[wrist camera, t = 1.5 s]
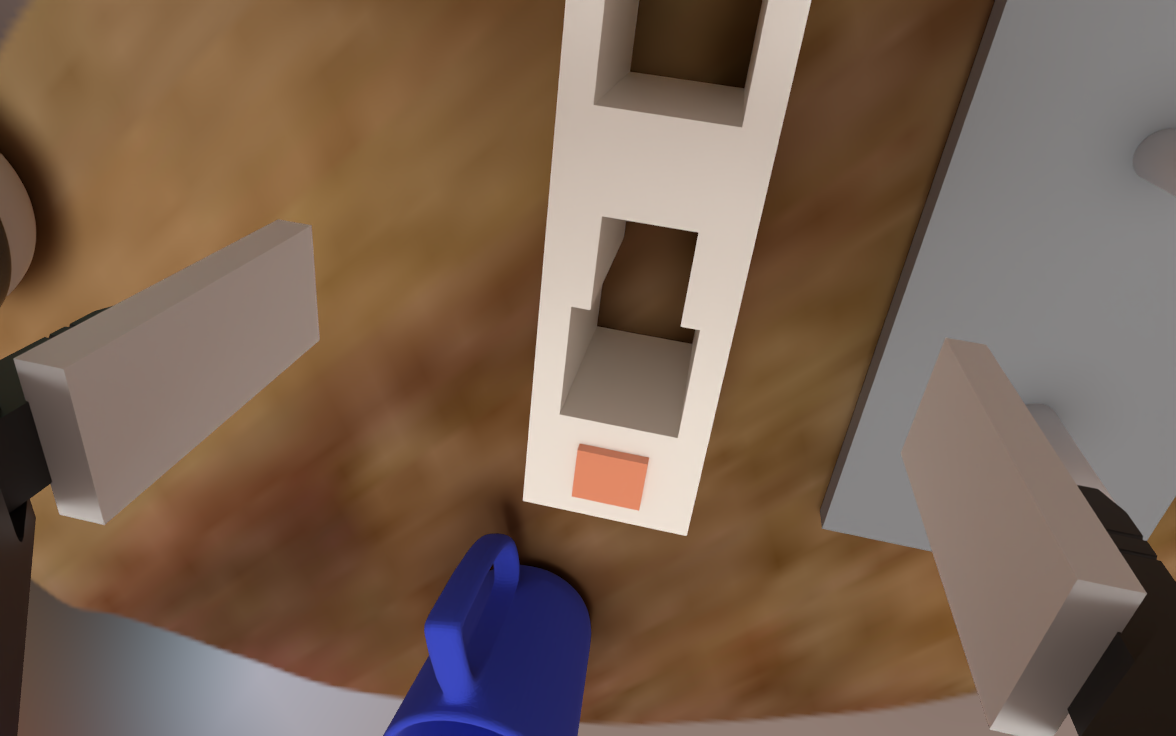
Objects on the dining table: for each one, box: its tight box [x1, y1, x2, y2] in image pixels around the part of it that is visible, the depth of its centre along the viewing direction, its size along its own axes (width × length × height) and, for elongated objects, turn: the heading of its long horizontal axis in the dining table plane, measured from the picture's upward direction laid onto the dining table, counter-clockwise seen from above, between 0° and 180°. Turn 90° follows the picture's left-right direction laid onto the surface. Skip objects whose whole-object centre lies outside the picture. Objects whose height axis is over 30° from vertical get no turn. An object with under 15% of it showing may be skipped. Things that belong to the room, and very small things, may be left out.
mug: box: [383, 534, 591, 736], centre depth 34 cm, size 8×12×10 cm
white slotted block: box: [523, 0, 811, 536], centre depth 24 cm, size 22×6×7 cm, turn 174°
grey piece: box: [820, 0, 1176, 551], centre depth 22 cm, size 24×12×10 cm, turn 174°
